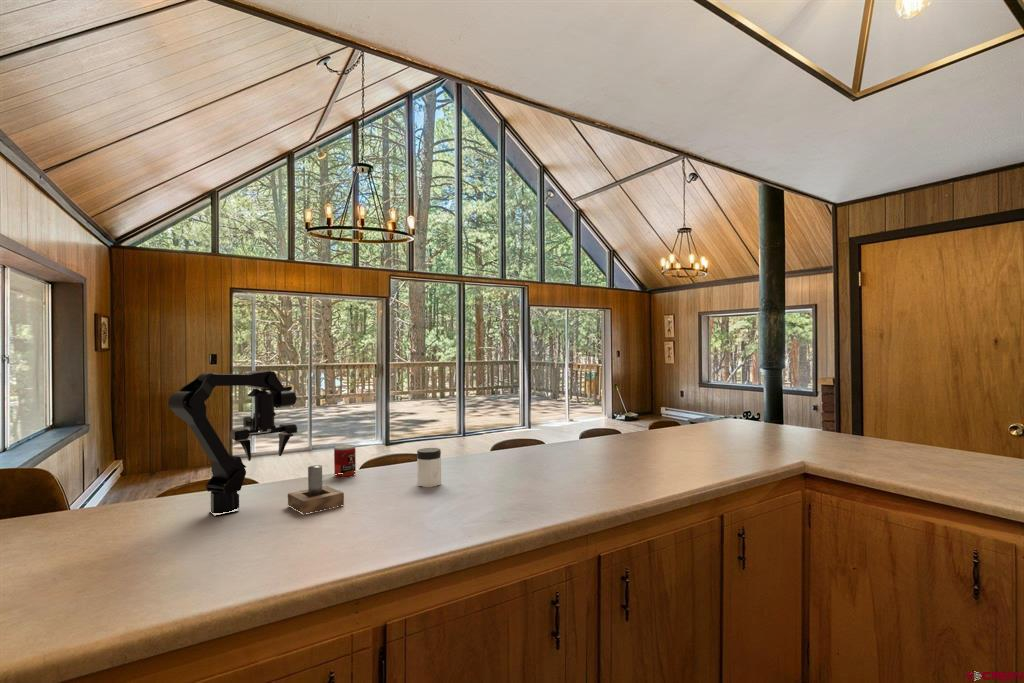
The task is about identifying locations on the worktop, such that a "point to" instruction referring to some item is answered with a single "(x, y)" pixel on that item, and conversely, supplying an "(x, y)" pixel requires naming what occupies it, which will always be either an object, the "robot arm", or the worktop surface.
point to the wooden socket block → (315, 500)
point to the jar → (429, 467)
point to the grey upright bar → (315, 480)
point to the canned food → (344, 460)
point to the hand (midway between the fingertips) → (264, 458)
